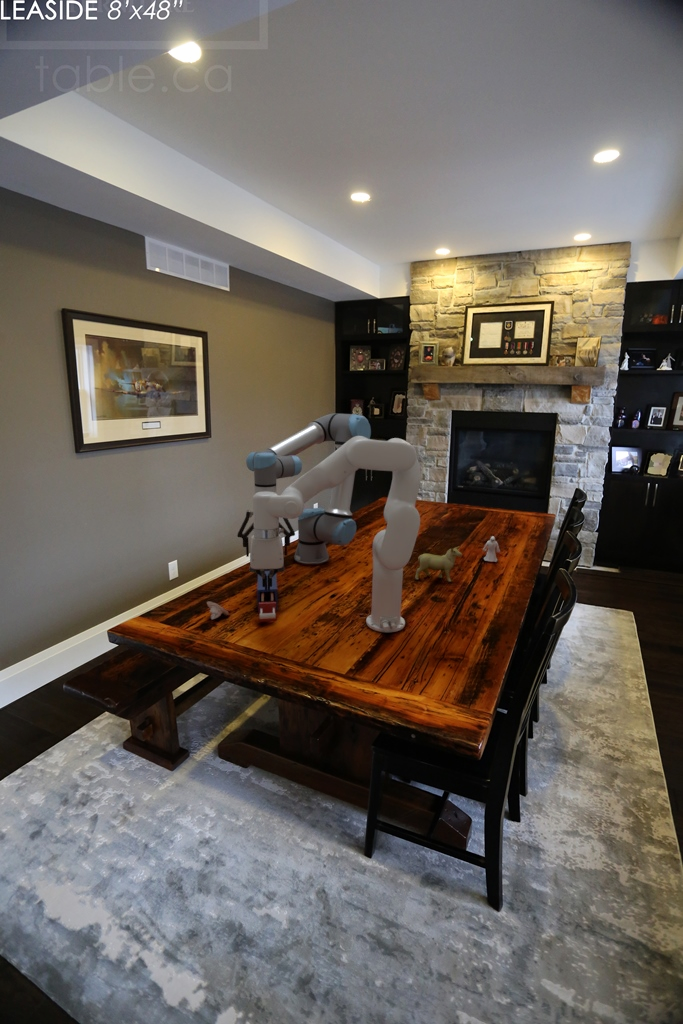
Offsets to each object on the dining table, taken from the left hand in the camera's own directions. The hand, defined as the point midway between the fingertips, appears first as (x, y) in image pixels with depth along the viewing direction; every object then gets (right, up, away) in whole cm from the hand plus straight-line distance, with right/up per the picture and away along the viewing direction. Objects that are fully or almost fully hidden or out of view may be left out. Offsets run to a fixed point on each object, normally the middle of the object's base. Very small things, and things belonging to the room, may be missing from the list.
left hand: (266, 554), depth 180 cm
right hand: (+4, -9, -24) cm, 26 cm away
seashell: (-14, -19, -15) cm, 28 cm away
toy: (+65, -12, +20) cm, 70 cm away
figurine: (+94, -6, +45) cm, 104 cm away
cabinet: (+1, -16, -2) cm, 16 cm away
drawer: (+2, -18, -14) cm, 23 cm away
